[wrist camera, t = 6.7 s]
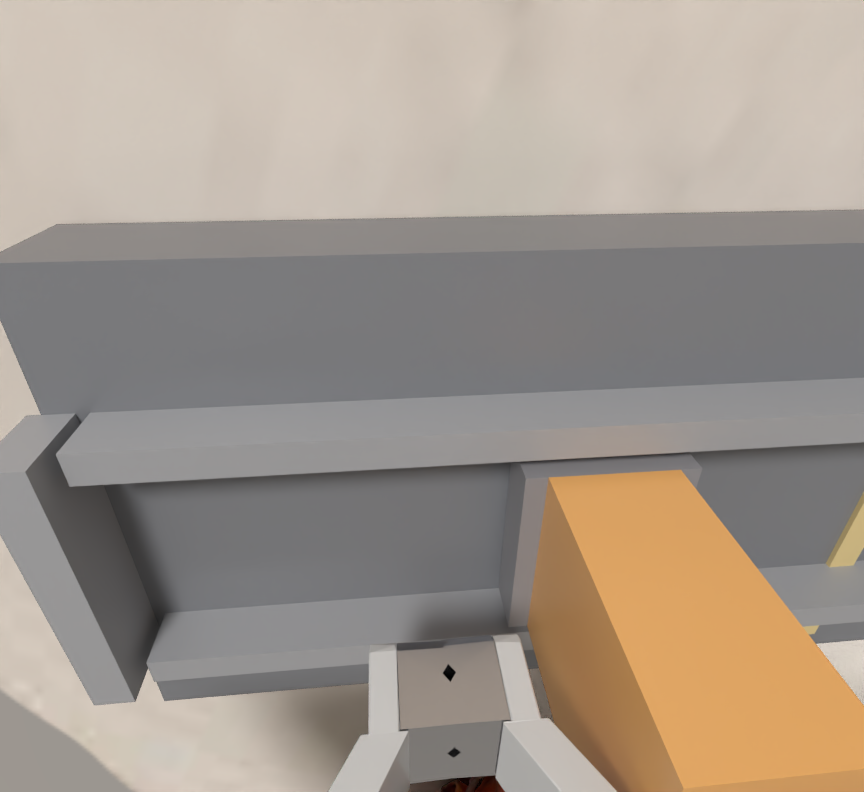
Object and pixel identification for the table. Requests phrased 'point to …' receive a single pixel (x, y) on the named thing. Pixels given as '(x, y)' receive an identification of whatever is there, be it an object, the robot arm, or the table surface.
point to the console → (406, 422)
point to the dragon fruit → (474, 785)
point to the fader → (668, 635)
